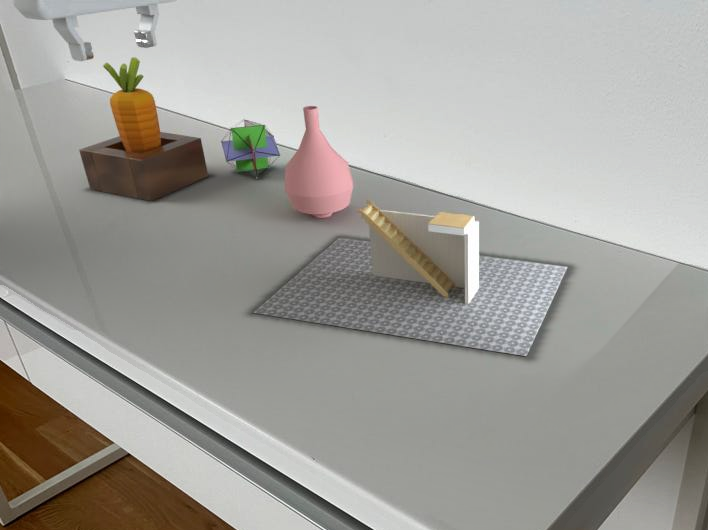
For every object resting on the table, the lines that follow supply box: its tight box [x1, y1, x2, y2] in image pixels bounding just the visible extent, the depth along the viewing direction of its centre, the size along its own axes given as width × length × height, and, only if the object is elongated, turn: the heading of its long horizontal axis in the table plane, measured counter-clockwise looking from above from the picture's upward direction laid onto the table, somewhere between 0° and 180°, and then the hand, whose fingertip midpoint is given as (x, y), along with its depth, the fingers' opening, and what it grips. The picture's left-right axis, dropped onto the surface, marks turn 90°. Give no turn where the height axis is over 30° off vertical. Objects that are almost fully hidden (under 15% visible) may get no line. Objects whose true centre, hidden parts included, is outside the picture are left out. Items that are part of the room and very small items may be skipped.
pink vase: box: [284, 105, 355, 219], centre depth 83 cm, size 8×8×12 cm
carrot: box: [102, 56, 161, 154], centre depth 91 cm, size 5×5×15 cm
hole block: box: [78, 131, 209, 202], centre depth 94 cm, size 10×10×5 cm
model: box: [356, 199, 481, 304], centre depth 69 cm, size 3×11×8 cm, turn 74°
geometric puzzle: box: [220, 118, 282, 179], centre depth 97 cm, size 7×7×8 cm
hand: (116, 53), depth 87 cm, fingers open, 8 cm apart
